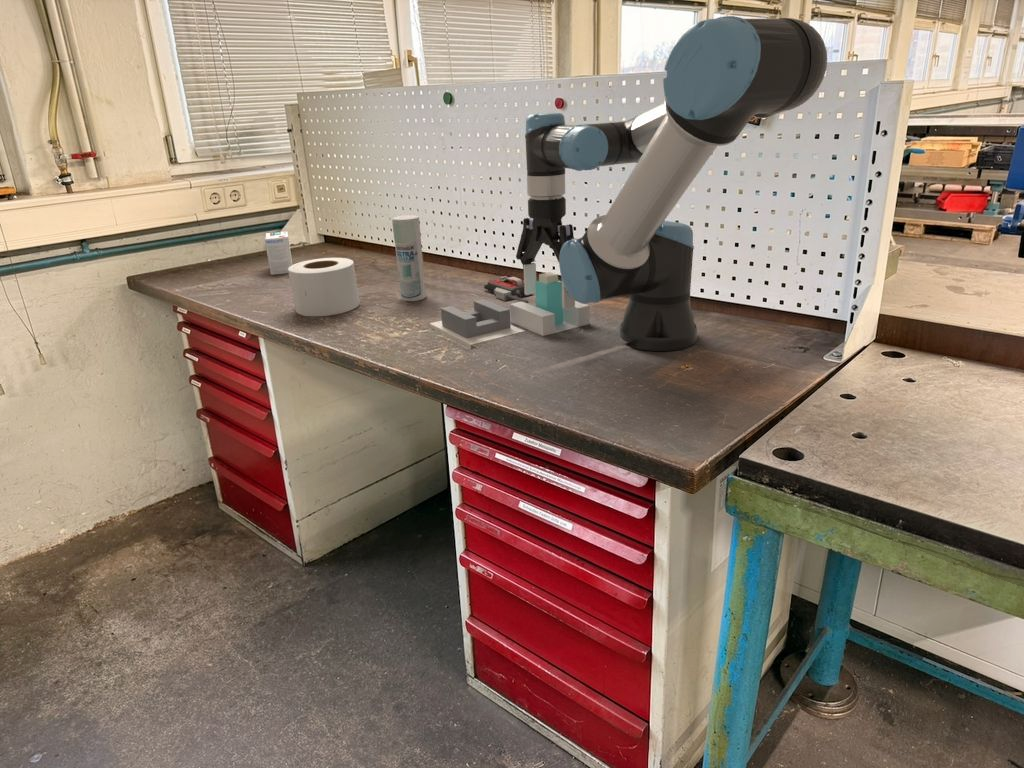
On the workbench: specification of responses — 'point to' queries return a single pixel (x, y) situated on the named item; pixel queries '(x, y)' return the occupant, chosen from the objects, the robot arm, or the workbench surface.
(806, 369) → the workbench surface
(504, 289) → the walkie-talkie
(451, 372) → the workbench surface
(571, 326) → the offset white blocks
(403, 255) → the spray can
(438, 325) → the grey notched fixture
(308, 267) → the roll of tape
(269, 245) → the light bulb box
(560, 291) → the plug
